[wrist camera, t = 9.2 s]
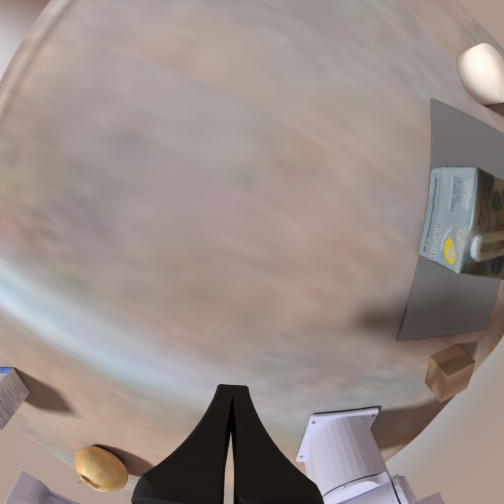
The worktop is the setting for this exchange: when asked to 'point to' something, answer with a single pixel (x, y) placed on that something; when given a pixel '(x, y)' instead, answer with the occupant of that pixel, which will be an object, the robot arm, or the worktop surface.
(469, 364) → the walnut block
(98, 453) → the onion
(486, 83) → the cream egg shape
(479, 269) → the beverage carton
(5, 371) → the medicine box
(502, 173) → the mat
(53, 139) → the worktop surface
